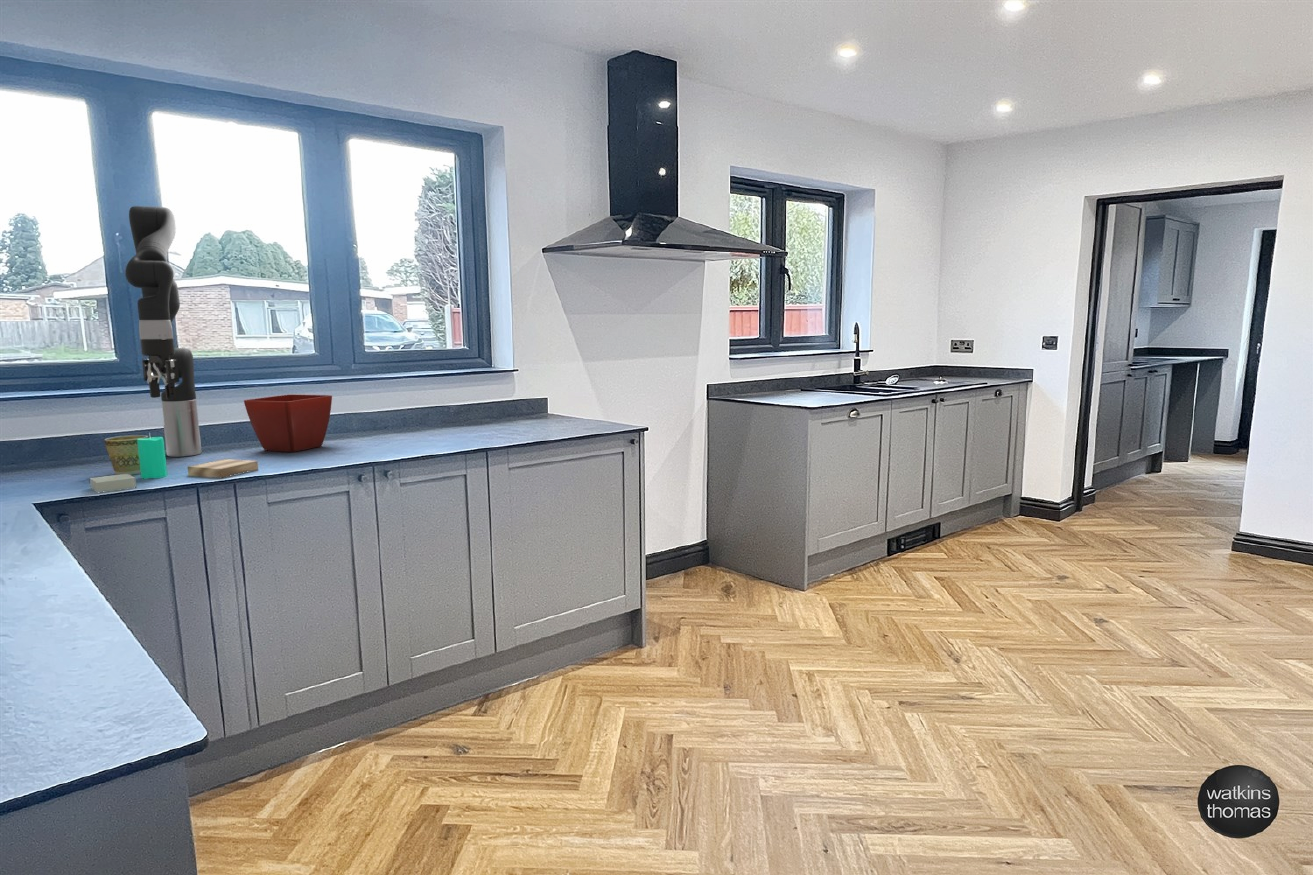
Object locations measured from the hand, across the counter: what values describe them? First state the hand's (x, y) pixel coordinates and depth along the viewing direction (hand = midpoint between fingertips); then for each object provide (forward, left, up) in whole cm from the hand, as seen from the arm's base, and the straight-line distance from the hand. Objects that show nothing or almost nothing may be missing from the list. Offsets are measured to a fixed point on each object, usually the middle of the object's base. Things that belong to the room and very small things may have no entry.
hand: (163, 398), depth 209 cm
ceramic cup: (-13, -2, -21) cm, 25 cm away
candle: (-2, -3, -21) cm, 22 cm away
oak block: (+10, +9, -22) cm, 25 cm away
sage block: (+4, -16, -22) cm, 27 cm away
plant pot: (-9, +44, -21) cm, 50 cm away
